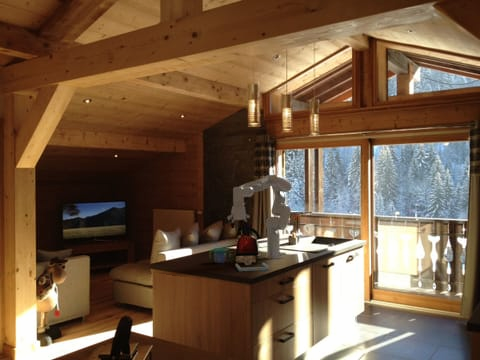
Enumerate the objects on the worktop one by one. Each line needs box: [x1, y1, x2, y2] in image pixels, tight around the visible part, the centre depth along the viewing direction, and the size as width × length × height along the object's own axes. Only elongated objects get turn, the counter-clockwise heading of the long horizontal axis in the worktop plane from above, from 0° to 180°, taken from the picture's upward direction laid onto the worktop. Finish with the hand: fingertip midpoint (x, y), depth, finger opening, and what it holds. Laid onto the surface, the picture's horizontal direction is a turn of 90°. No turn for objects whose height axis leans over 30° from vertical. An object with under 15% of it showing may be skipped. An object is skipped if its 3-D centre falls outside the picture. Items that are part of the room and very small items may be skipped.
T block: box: [235, 255, 257, 266], centre depth 338 cm, size 14×14×4 cm
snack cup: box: [209, 247, 232, 264], centre depth 340 cm, size 16×10×10 cm
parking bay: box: [235, 262, 270, 272], centre depth 318 cm, size 20×17×2 cm
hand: (238, 227), depth 335 cm, fingers open, 9 cm apart
